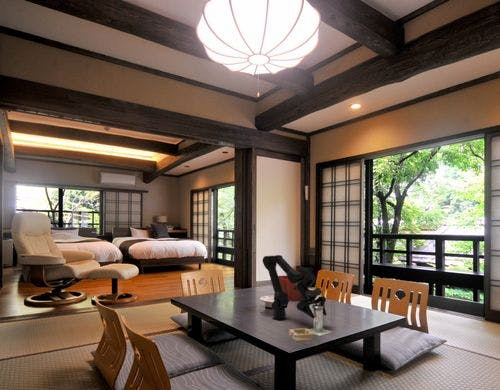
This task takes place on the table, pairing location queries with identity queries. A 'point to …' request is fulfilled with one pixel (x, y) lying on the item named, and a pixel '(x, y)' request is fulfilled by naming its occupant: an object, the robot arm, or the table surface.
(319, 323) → the salt shaker
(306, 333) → the bore block
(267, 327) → the table surface
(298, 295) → the plant pot
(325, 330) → the pad
